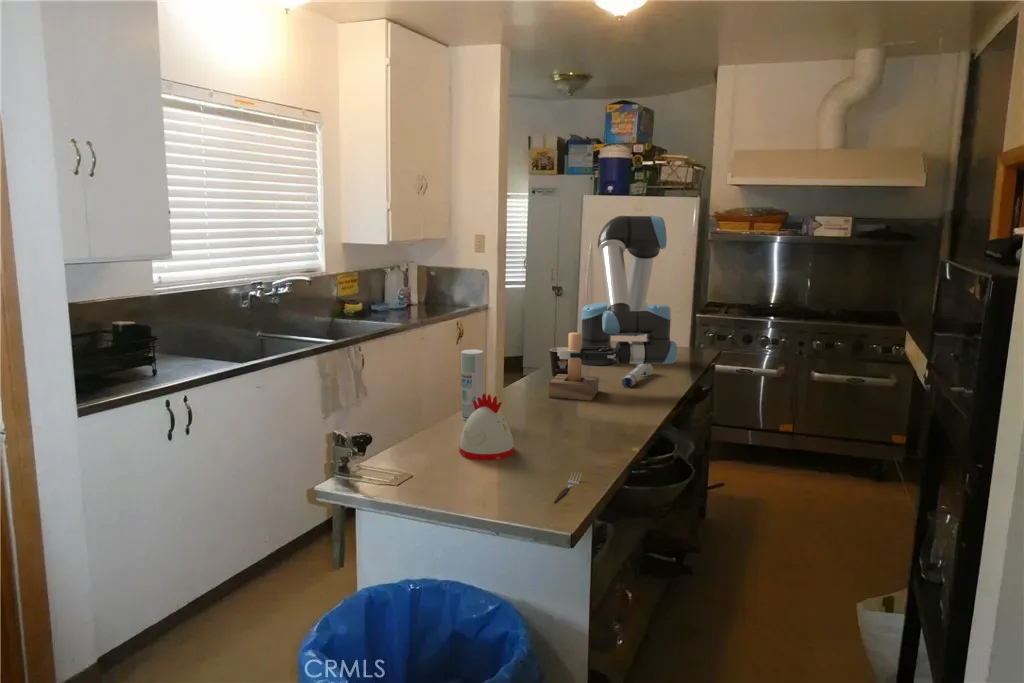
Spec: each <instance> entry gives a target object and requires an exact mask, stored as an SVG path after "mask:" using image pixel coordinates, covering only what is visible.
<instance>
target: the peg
mask: <svg viewBox="0 0 1024 683" xmlns="http://www.w3.org/2000/svg"><path fill="white" fill-rule="evenodd" d="M567 338H568V340H567V341H568V342H567V343H568V347H567V348H568V350H580V349H582V333H581V332H569V333H568V337H567ZM581 360H582V359H568V381H572V382H581V375H582V364H581Z"/></svg>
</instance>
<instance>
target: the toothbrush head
mask: <svg viewBox="0 0 1024 683" xmlns="http://www.w3.org/2000/svg"><path fill="white" fill-rule="evenodd" d="M653 369H654V367H653V365H652V364H639V365H638V366H636V367H635V368H634V369H632V370H631V371H630V372H629V373H627V374H625V375H624V376H623V378H622V379H621V385H622V386H623V387H624V386H627V387H626V388H628V387H630V388H632V387H633V386H635V385H636V384H637V381H638V380H639V379H640V378H641V377H642V376H641V375H649V376H650V375H651V374H653ZM651 376H652V375H651ZM632 385H633V386H632Z"/></svg>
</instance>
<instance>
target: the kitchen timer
mask: <svg viewBox="0 0 1024 683" xmlns="http://www.w3.org/2000/svg"><path fill="white" fill-rule="evenodd" d="M497 398H498V396H496V395H495V396H494V397H493V399H492V396H491V394H488V395H486V393H483V396H482V400H481V398H480V397H478V398H477V399H478V405H477V403H476V401H473V404H474V407H475V410H476V411H474V412H473V413H472V414H471V415H470V417H469V418H468V420H467V421H465V423H464V425H463V430H462V432H461V436H460V440H459V446H458V447H459V449H458V450H459V451H458V452H459V454H460V455H461V456H462V457H464V458H467V459H470V460H477V461H496V460H503V459H506V458H508V457H510V456H512V455H514V452H515V446H514V438H513V434H512V431H511V428H510V424H509V422H508V421H507V420H506V418H505V417H504V415H503V414H502V412H500V411H499V410H500V408H501V405H502V401H500V402H498V399H497Z"/></svg>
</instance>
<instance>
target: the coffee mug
mask: <svg viewBox="0 0 1024 683" xmlns="http://www.w3.org/2000/svg"><path fill="white" fill-rule="evenodd" d="M558 348H559V347H553V348H552V347H551V348H550V349H549V354H550V355H549V356H550V368H551V375H552V376H554V377H555V376H556V375H557V374H567V375H568V359H560V356H557V354H558ZM582 361H583V359H582V360H581V362H582ZM552 376H551V377H552Z"/></svg>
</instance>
